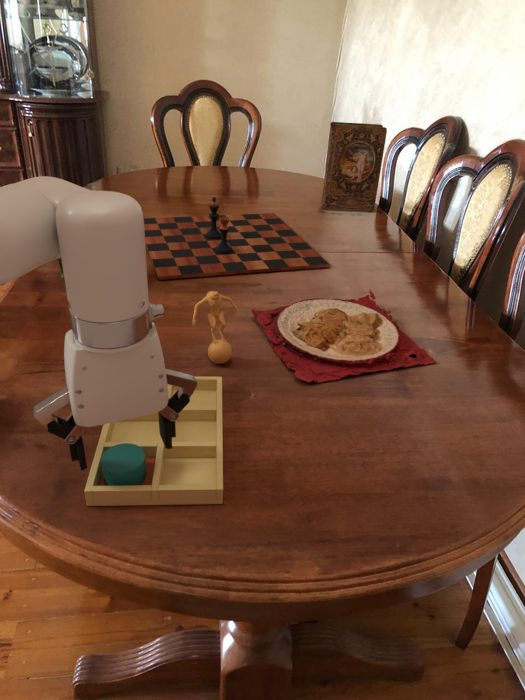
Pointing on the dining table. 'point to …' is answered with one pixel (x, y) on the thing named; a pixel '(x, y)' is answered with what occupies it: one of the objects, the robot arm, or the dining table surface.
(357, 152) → the book
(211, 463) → the grid
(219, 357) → the figurine
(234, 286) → the dining table surface
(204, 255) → the chessboard
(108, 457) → the cylinder
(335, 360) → the plate with food
